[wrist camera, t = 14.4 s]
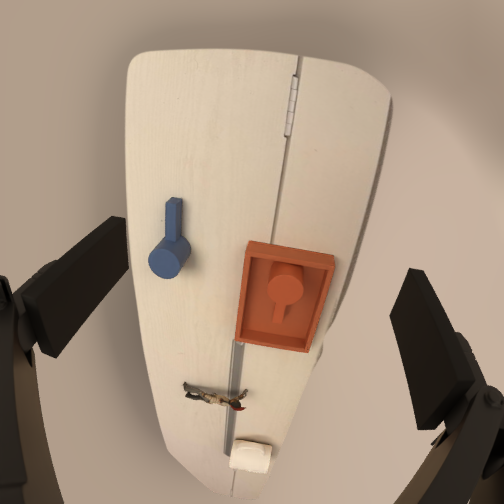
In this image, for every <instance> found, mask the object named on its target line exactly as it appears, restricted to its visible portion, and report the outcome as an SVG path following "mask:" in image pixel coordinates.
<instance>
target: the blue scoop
mask: <svg viewBox="0 0 504 504" xmlns="http://www.w3.org/2000/svg"><path fill="white" fill-rule="evenodd" d="M181 216H182V199H181V198H174V197H172V198H170V199H169V200H168V201H167V202H166V211H165V237H164V238H163V239H162V240H161V241H160V243H159V244H158V245H157V246H156V247H155V248H154V250H153V251H152V252H151V253H150V255H149V258H148V263H149V266H150V268H151V270H152V271H153V272H154V273H155V274H156V275H157V276H159V277H161V278H164V279H171V278H174V277H176V276H177V275H178V273H179V272H180V270H181V269H182V267H183V265H184V264H185V262H186V261H187V259H188V258H189V256H190V253H191V247H190V244H189V242H188V241H187V240H186V239H185V238H184V237H183V236H181Z"/></svg>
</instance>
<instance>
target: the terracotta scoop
mask: <svg viewBox="0 0 504 504" xmlns="http://www.w3.org/2000/svg"><path fill="white" fill-rule="evenodd" d="M303 290H304V268H303V266H302V265H296V264H291V263H285V262H279V261H274V262H273V263H272V265H271V269H270V274H269V279H268V284H267V293H268V296H269V297H270V299H271V300H273V301H274V302H275V306H274V310H273V316H272V323H278V324H282V322H283V318H284V313H285V309H286V305H291V304H294V303H296V302H297V301H299V300H300V299H301V297H302V295H303Z"/></svg>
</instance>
